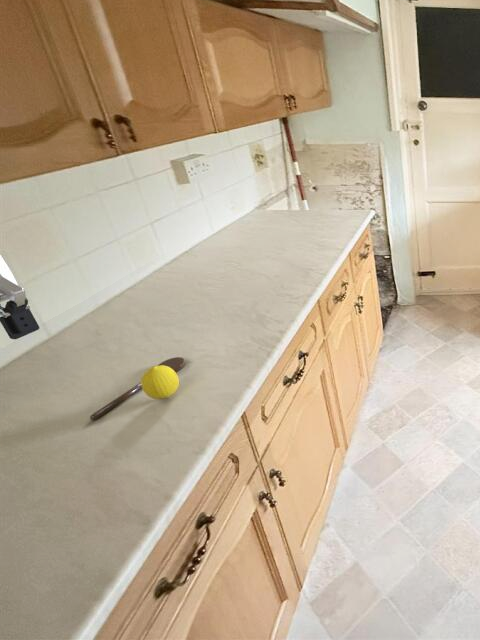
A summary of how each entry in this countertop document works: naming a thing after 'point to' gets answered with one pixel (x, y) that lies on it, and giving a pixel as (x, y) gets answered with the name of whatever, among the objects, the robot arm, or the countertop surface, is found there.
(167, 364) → the spoon
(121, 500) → the countertop surface
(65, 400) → the countertop surface
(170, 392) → the lemon
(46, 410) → the countertop surface
